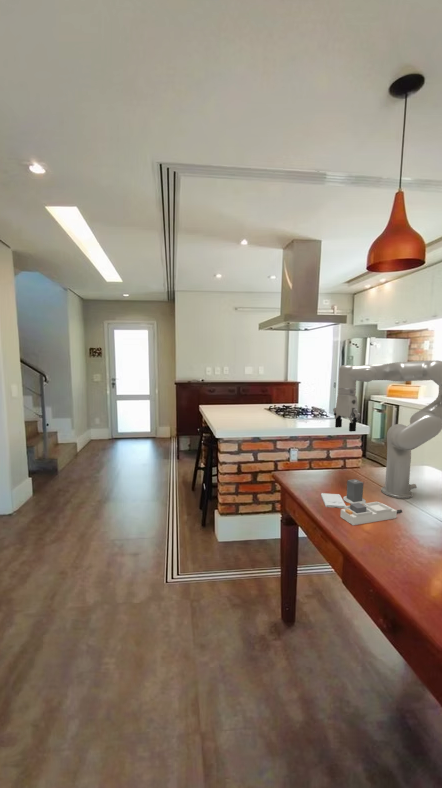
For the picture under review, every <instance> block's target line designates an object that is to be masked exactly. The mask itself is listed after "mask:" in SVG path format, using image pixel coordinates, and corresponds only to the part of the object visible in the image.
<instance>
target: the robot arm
mask: <svg viewBox="0 0 442 788" xmlns="http://www.w3.org/2000/svg"><path fill="white" fill-rule="evenodd" d="M372 381H391V382H419V381H432V382H434V383H435V384H436V385H437V386H438V394H437V397H436V398H435V400H434V401H432V402H430V403H429V404H428V405H426V406H425V407H423V408H421V409H420V410H419V411H417V412H414V413H413V414H412V415H411V417H410V419H409V424H408V425H405V424H402V423H401V424H400V423H396V424H393V425H391V426H390V427H389V428H388V429H387V433H386V446H387V449H386V451H387V452H386V469H385V485H384V486H382V487H381V489H380V490H381V492H382V493H383V494H384V495H386V496H388V497H392V498H395V499H410V498H412V497H413V494H414V493H413V492H412V491H411V490H412V489H417V484H416V483H413V484H410V476H411V462H412V450H414V449H417V448H418V447H419V448H420V446H423V444H425V443H427V442H428V441H430V440H432V439H433V438H435V437H436V436H438V435H439V433H440V432H441V431H442V360H418V361H416V360H415V361H399V362H398V361H397V362H396V361H395V362H390V363H379V364H378V363H377V364H360V365H350V364H343V365H340V367H339V368H338V388H337V389H338V390H337V394H338V395H337V398H336V406H335V407H334V408H332V410H333V416H334V419H335V420H334V421H335V422H334V423H335V426H334V427H335V428H342V424H343V423H342V422H343V419H342V418H347V419H348V421H350V422H349V423H348V424H349V425H348V431H349V432H351V433H352V432H356V431H357V423H358V421H359V419H360V416H361V413H359V411H358V410H359V408H358V406H359V405H358V403H359V402H358V397H357V395H356V393H357V382H363V383H364V382H365V383H368V382H372Z"/></svg>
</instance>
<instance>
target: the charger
mask: <svg viewBox="0 0 442 788" xmlns="http://www.w3.org/2000/svg"><path fill="white" fill-rule="evenodd" d="M363 493H364V482H363V481H361V480H358V479H356V478H355V479H354V478H353V479H347V482H346V496H347V499H349V500H351V501H352V502H358V501H362V498H363V496H364V495H363ZM363 499H364V498H363Z"/></svg>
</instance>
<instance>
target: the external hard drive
mask: <svg viewBox="0 0 442 788" xmlns="http://www.w3.org/2000/svg"><path fill="white" fill-rule="evenodd" d="M320 496H321V499H322V501H323V504H324V505H325V508H333V509H334V508H337V509H344V506H347V505H346V502H345V501H344V500H343V498H342V496H341V494H339V493H325V492H321V494H320Z"/></svg>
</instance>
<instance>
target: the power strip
mask: <svg viewBox="0 0 442 788" xmlns="http://www.w3.org/2000/svg"><path fill="white" fill-rule="evenodd" d="M400 513H403V510H402V509H394V507H393V508H392V507H391V506H389V505H386V504H385V503H382V502H379V501H372V502H366V503H364V504H360V503H354V504H350V503H349V505H346V506H344V508H340V516H339V517H340V518H341V519H343V520H344V521H346V522H347V523H349V524H350V525H352V526H357V525H364V524H369V523H375V522H381V521H386V520H387V521H388V520H393V519H397V514H400Z"/></svg>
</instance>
